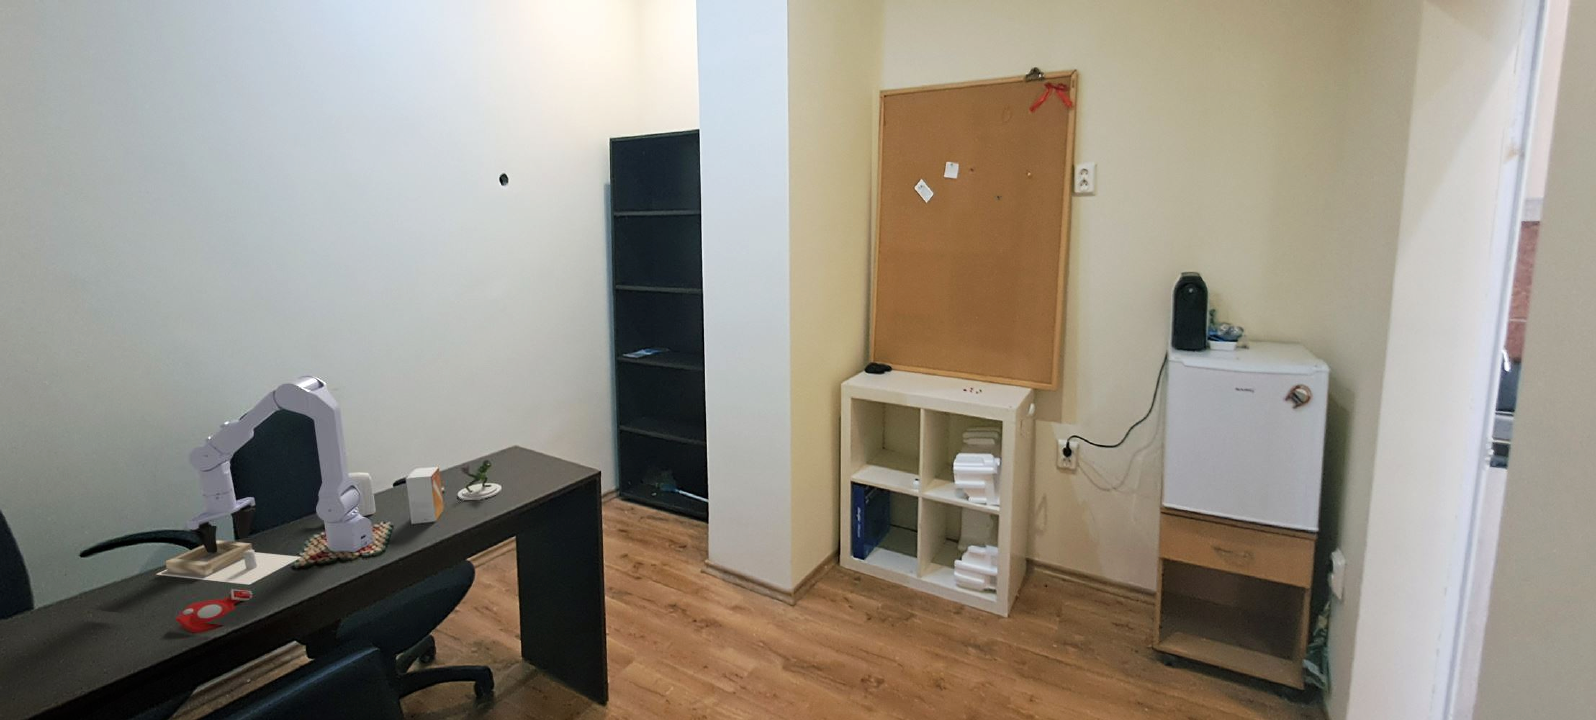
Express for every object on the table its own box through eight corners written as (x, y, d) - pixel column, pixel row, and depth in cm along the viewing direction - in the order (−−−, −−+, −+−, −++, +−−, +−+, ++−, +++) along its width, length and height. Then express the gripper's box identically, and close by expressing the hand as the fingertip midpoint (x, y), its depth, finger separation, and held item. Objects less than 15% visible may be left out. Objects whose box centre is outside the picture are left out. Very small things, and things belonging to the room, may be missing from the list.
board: (302, 562, 165) (299, 541, 163) (250, 590, 152) (246, 567, 151) (214, 553, 170) (210, 533, 169) (157, 580, 157) (152, 558, 156)
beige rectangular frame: (253, 553, 166) (251, 543, 166) (206, 575, 156) (204, 565, 155) (216, 549, 168) (214, 540, 168) (167, 571, 158) (165, 561, 157)
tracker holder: (219, 628, 136) (162, 621, 135) (221, 644, 138) (165, 638, 136) (258, 584, 147) (206, 578, 146) (259, 600, 149) (207, 594, 147)
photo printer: (375, 509, 196) (369, 467, 193) (376, 514, 192) (370, 472, 190) (332, 518, 190) (325, 475, 188) (332, 523, 186) (325, 480, 184)
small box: (436, 521, 187) (430, 476, 184) (411, 524, 185) (404, 478, 183) (444, 510, 194) (439, 466, 192) (420, 512, 193) (414, 468, 190)
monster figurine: (498, 498, 202) (495, 465, 200) (454, 503, 199) (450, 469, 197) (504, 483, 214) (500, 452, 212) (462, 488, 210) (458, 456, 208)
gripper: (234, 479, 171) (244, 530, 174) (172, 502, 157) (183, 557, 160) (258, 481, 170) (267, 532, 172) (196, 504, 156) (207, 559, 158)
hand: (228, 544), depth 166 cm, fingers open, 7 cm apart
